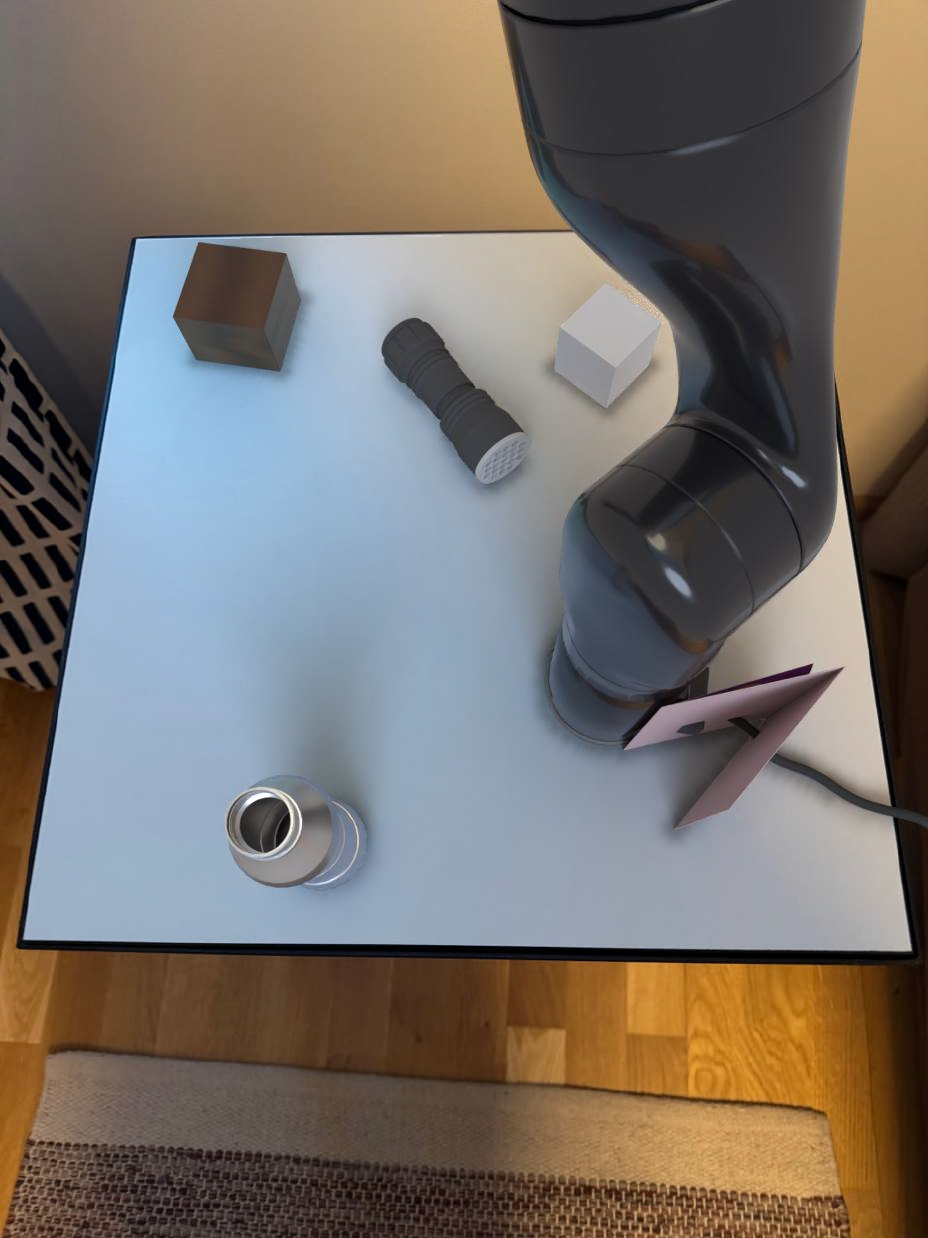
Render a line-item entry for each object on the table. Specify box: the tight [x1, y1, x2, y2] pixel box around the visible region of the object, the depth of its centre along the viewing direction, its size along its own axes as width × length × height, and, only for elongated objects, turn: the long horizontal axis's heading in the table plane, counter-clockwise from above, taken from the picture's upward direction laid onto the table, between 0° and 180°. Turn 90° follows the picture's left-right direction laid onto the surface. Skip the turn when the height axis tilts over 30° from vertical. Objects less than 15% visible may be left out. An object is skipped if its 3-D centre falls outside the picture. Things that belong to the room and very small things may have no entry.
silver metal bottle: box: [223, 774, 368, 891], centre depth 53 cm, size 6×7×20 cm
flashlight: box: [380, 317, 532, 485], centre depth 71 cm, size 15×5×5 cm, turn 36°
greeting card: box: [622, 662, 846, 831], centre depth 56 cm, size 11×7×15 cm, turn 102°
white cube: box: [554, 282, 663, 410], centre depth 72 cm, size 6×6×6 cm
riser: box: [172, 241, 302, 372], centre depth 74 cm, size 8×8×6 cm
